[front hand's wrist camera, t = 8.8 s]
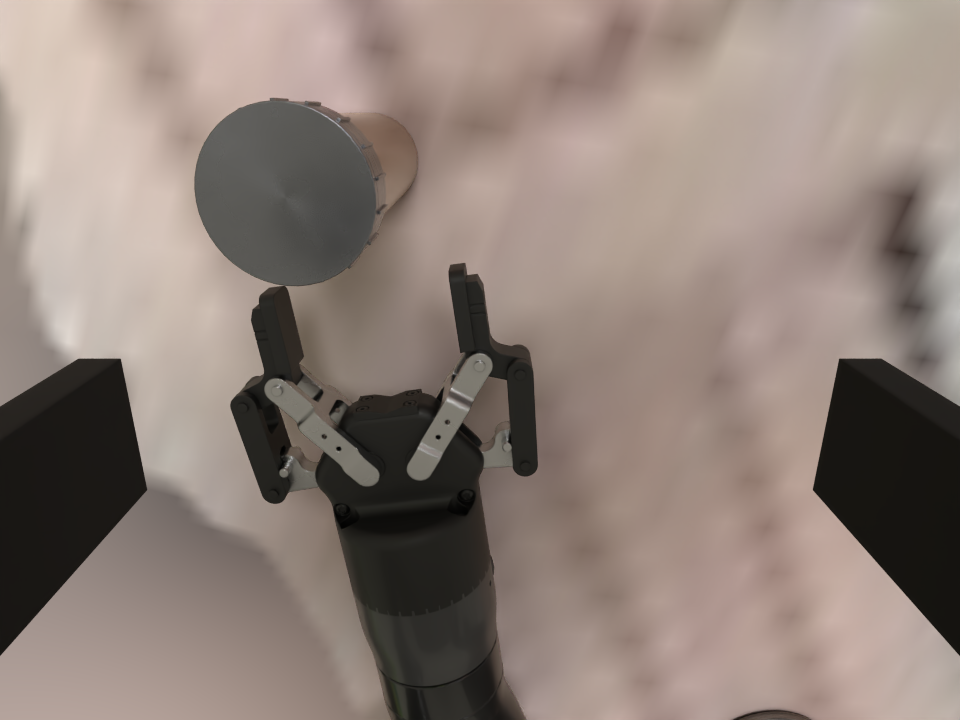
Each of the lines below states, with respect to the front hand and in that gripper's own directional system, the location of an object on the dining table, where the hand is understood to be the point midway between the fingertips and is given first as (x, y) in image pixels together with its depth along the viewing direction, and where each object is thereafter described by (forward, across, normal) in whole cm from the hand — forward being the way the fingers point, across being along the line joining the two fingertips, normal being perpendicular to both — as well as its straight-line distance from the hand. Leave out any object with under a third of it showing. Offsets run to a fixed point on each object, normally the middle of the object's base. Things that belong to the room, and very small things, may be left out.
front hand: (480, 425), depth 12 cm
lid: (+9, +6, -3) cm, 11 cm away
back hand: (+18, +5, +2) cm, 19 cm away
